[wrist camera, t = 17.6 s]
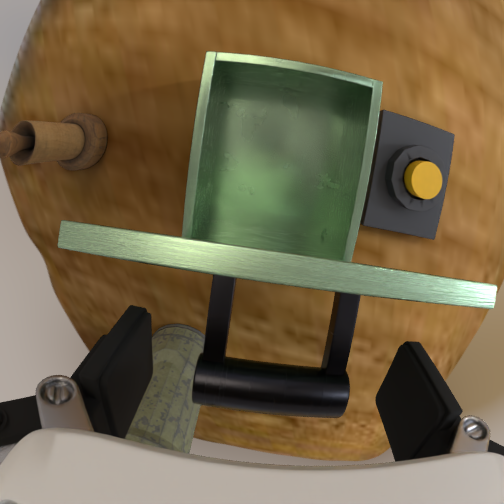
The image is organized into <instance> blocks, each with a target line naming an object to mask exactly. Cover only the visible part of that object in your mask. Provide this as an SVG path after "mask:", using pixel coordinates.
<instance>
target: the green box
mask: <svg viewBox="0 0 504 504" xmlns="http://www.w3.org/2000/svg"><path fill="white" fill-rule="evenodd" d="M382 85H383V82H381V81H378V80H373V79H371V78H367V77H364V76H360V75H356V74H353V73H349V72H345V71H341V70H336V69H332V68H328V67H323V66H318V65H313V64H308V63H303V62H297V61H292V60H286V59H279V58H272V57H265V56H257V55H248V54H238V53H226V52H211V51H207V52H206V56H205V61H204V67H203V73H202V78H201V84H200V90H199V96H198V103H197V109H196V116H195V123H194V130H193V137H192V145H191V152H190V160H189V169H188V178H187V187H186V196H185V207H184V217H183V229H182V237H185V238H192V239H199V240H206V241H213V242H219V243H226V244H233V245H240V246H246V247H253V248H260V249H267V250H273V251H280V252H287V253H293V254H300V255H307V256H313V257H320V258H326V259H333V260H340V261H346V262H351V259H352V255H353V251H354V247H355V243H356V239H357V234H358V230H359V225H360V221H361V216H362V212H363V207H364V202H365V197H366V192H367V187H368V181H369V176H370V170H371V165H372V159H373V153H374V146H375V140H376V133H377V126H378V119H379V111H380V103H381V94H382Z"/></svg>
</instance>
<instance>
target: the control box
mask: <svg viewBox="0 0 504 504" xmlns="http://www.w3.org/2000/svg"><path fill="white" fill-rule="evenodd" d="M453 143H454V134H452V133H449V132H447V131H444V130H442V129H439V128H437V127H434V126H431V125H428V124H426V123H423V122H420V121H417V120H414V119H411V118H408V117H405V116H402V115H399V114H396V113H393V112H389V111H386V110H381V111H379V119H378V126H377V133H376V140H375V146H374V153H373V159H372V165H371V170H370V176H369V181H368V187H367V192H366V197H365V202H364V207H363V212H362V216H361V221H360V223H361V224H362V225H364V226H369V227H374V228H380V229H385V230H390V231H395V232H400V233H405V234H410V235H414V236H419V237H424V238H429V239H433V240H434V239H435V235H436V231H437V227H438V223H439V219H440V215H441V210H442V206H443V201H444V196H445V191H446V186H447V181H448V175H449V170H450V164H451V157H452V150H453ZM414 161H428V162H432V163H433V164H435V165H436V166H437V167H438V168H439V170H440V172H441V175H442V186H441V189H440V191H439V193H438V194H437V195H436V196H435V197H433V198H431V199H423V198H420V197H417V196H414V195H412V194H411V193H410V192H409V191H408V190H407V188H406V186H405V183H404V174H405V170H406V168H407V167H408V165H409V164H411V163H412V162H414Z"/></svg>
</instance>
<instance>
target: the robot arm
mask: <svg viewBox="0 0 504 504" xmlns="http://www.w3.org/2000/svg"><path fill="white" fill-rule="evenodd" d="M152 375H153V355H152V329H151V314H150V313H147V310H146V308H142V307H138V306H133V305H130V306H129V307H128V309H127V310H126V311H125V313H124V314H123V315H122V316H121V318H120V319H119V320H118V322H117V323H116V324H115V325H114V327H113V328H112V329H111V331H110V332H109V333H108V335H103V336H102V337H101V338H100V339H99V340H98V342H97V343H96V344H95V345H94V347H93V348H92V349H91V351H90V352H89V353H88V355H87V356H86V357H85V359H84V360H83V361H82V363H81V364H80V365H79V367H78V368H77V369H76V371H75V372H74V373H73V375H72V376H71V378H69V377H67V376H62V375H53V376H50V377H47V378H45V379H43V380H42V381H41V382H40V383H39V384H38V386H37V388H36V395H35V396H30V397H26V398H21V399H16V400H11V401H6V402H1V403H0V504H504V447H503V446H501V445H499V444H497V443H495V442H493V441H491V440H490V429H489V427H488V425H487V424H486V423H485V422H484V421H483V420H482V419H480V418H479V417H476V416H472V415H471V416H470V415H469V416H465V417H463V418H462V419H461V418H460V414H461V413H462V409H461V407H460V406H459V404H458V402H457V400H456V399H455V397H454V395H453V394H452V392H451V390H450V389H449V387H448V386H447V384H446V382H445V381H444V379H443V377H442V376H441V374H440V373H439V371H438V370H437V368H436V366H435V365H434V363H433V362H432V360H431V359H430V357H429V356H428V354H427V353H426V351H425V349H424V348H423V346H422V345H421V344H420V343H419V342H409V341H406V342H405V343H404V344H403V345H401V346H400V347H399V348H398V351H397V353H396V355H395V357H394V360H393V362H392V364H391V366H390V368H389V370H388V373H387V375H386V377H385V379H384V381H383V383H382V385H381V387H380V389H379V391H378V393H377V395H376V405H377V408H378V411H379V414H380V417H381V419H382V422H383V425H384V428H385V431H386V434H387V437H388V440H389V443H390V446H391V449H392V453H393V455H394V459H395V462H389V463H378V464H365V465H347V466H291V465H273V464H260V463H249V462H239V461H232V460H224V459H217V458H210V457H205V456H198V455H193V454H188V453H183V452H178V451H173V450H168V449H163V448H159V447H155V446H150V445H146V444H142V443H138V442H134V441H131V440H126V439H125V437H126V435H127V432H128V430H129V428H130V425H131V423H132V421H133V419H134V416H135V414H136V412H137V409H138V407H139V405H140V403H141V400H142V398H143V396H144V394H145V392H146V389H147V387H148V385H149V383H150V381H151V378H152Z"/></svg>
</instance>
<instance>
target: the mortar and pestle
mask: <svg viewBox="0 0 504 504" xmlns="http://www.w3.org/2000/svg"><path fill="white" fill-rule="evenodd" d="M106 144H107V131H106V128H105V125H104V123H103V122H102V120H101V119H100V118H98V117H97V116H95V115H91V114H84V113H74V114H71V115H69V116H67V117H66V118H64V119H63V120H62V121H61V122H60V123H55V122H41V121H20V122H19V123H17V124H16V125H15V127H14V128H13V130H12V132H10V131H2V132H1V133H0V158H6V157H9V156H10V159H11V161H12V162H13V163H14V164H16V165H27V164H33V163H40V162H48V161H57V162H58V164H59V165H60V166H62V167H63V168H65V169H67V170H80V169H86V168H89V167H91V166H93V165H94V164H95V163H97V162H98V160H99V159H100V158H101V157H102V155H103V153H104V151H105V148H106Z"/></svg>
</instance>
